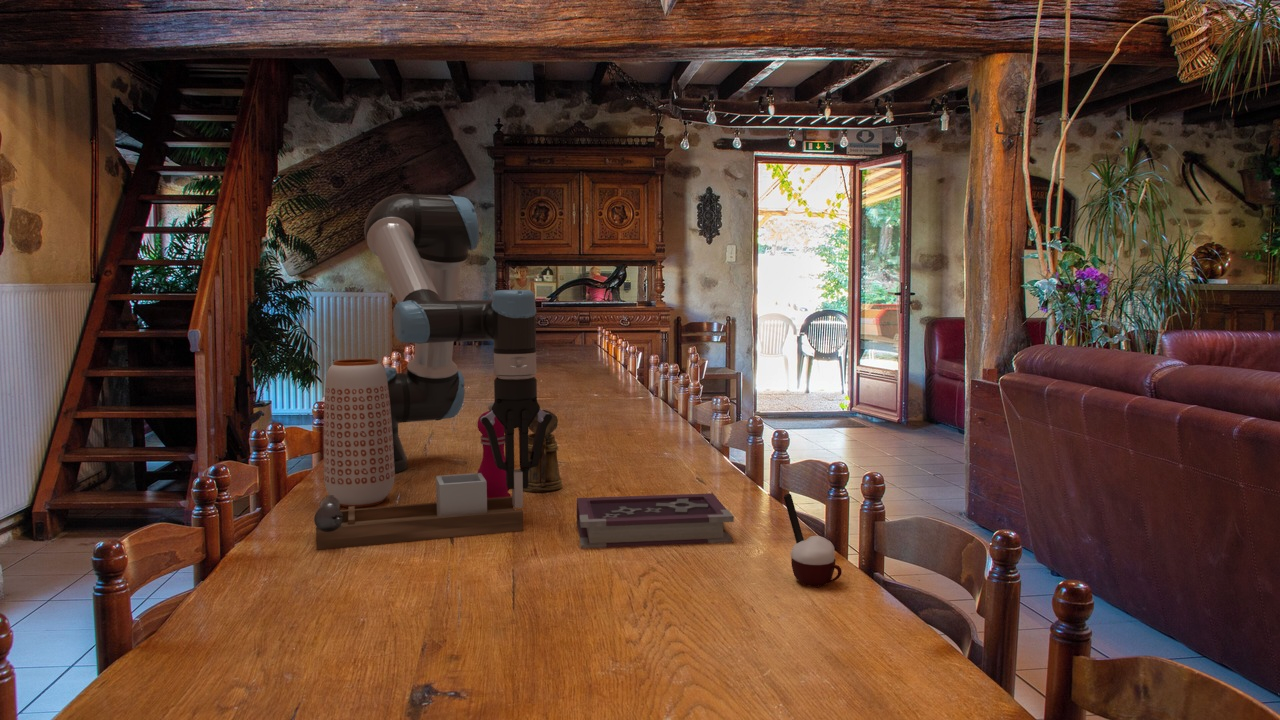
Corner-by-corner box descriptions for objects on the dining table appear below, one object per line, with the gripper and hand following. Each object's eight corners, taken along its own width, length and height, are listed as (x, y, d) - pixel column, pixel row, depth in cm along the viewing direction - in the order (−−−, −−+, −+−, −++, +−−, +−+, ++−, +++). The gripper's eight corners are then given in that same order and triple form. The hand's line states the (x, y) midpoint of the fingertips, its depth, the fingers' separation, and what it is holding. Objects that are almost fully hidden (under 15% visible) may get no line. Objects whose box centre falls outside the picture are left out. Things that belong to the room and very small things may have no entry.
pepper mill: (505, 509, 166) (503, 406, 164) (470, 507, 168) (467, 405, 166) (518, 500, 173) (516, 400, 171) (484, 498, 175) (482, 399, 173)
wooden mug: (522, 499, 174) (520, 410, 172) (518, 483, 187) (516, 401, 185) (566, 497, 176) (565, 408, 174) (559, 481, 189) (558, 399, 187)
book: (581, 551, 142) (580, 521, 141) (576, 524, 157) (576, 497, 157) (733, 545, 145) (733, 516, 144) (713, 519, 161) (713, 492, 160)
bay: (319, 531, 152) (318, 507, 152) (512, 514, 162) (512, 492, 162) (316, 549, 142) (315, 524, 141) (523, 530, 152) (523, 506, 152)
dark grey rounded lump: (317, 524, 151) (316, 492, 150) (344, 522, 152) (343, 490, 152) (314, 545, 139) (313, 510, 139) (343, 542, 140) (342, 508, 140)
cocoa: (847, 591, 123) (853, 509, 122) (809, 596, 121) (816, 512, 119) (809, 568, 132) (815, 491, 130) (774, 572, 129) (779, 493, 128)
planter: (384, 510, 165) (380, 363, 163) (314, 511, 165) (309, 364, 163) (403, 493, 179) (399, 357, 176) (338, 494, 179) (333, 357, 176)
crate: (436, 514, 156) (435, 476, 155) (481, 510, 159) (480, 472, 158) (440, 524, 149) (439, 484, 149) (487, 520, 152) (486, 481, 151)
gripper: (481, 380, 149) (484, 514, 151) (555, 377, 153) (557, 508, 155) (475, 375, 156) (478, 504, 158) (546, 373, 160) (548, 498, 162)
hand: (517, 506), depth 157 cm, fingers closed
